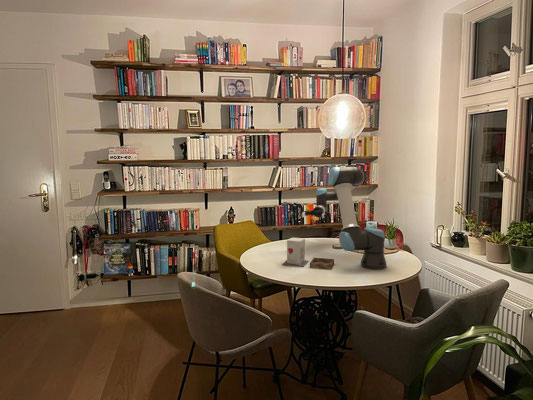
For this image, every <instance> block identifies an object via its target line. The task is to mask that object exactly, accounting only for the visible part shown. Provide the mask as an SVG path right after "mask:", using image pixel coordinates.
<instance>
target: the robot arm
mask: <svg viewBox="0 0 533 400" xmlns="http://www.w3.org/2000/svg"><path fill="white" fill-rule="evenodd" d="M364 181H365V173H364V171H363V170H362V168H360V167H356V166H336V167H335V166H334V167H332V168H331V169H330V170H329V174H328V185H330V186H331V187H333V190H327V188H325V187H321V188H320V187H319V188H317V189H316V194H315V196H316V198H315V199H316V203H315V206H314V207H313V209H312V210H310V209H308V210H303V211H300V214H299V215H300V216H301V218H304V217H306V216H314V217H316V218H321V219H325V218H326V217H329V218H330V215H331V214H330V213H331V212H329V211H328V205H327V204H328V203H327V202H337V201H338V207H339V213H340V218H341V222H342V228H341V230H340V232H339V234H338V242H339V244H340V247H341V248H342V249H343V250H344V251H346V252H353V251H354V252H355V251H357V252H358V251H363V254H362V257H361V260H360V266H361V267H362V268H365V269H369V270H383V269H386V268H387V265H388V264H387V260H386V257H385V232H384V230H383V229H380V228H376V227H375V228H374V227H364V229H363V230H362V228H361V226H360V225H359V224H358V221H357V216H356V211H355V206H354V201H353V195H352V190H354V189H355V188H357V187H360V186H361V185H362V184H363V182H364Z"/></svg>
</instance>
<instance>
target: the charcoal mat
mask: <svg viewBox="0 0 533 400" xmlns="http://www.w3.org/2000/svg"><path fill="white" fill-rule="evenodd" d="M308 263H310V261H309V260H308V259H307V260H306V259H305V261H304V262H303V263H302V264H300V265H297V264H290V263H287V259H285V261H284V262H283V263H282V264H281V266H288V267H295V268H299V267H300V268H305V267H306V265H307V264H308Z"/></svg>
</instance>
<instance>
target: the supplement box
mask: <svg viewBox="0 0 533 400" xmlns="http://www.w3.org/2000/svg"><path fill="white" fill-rule="evenodd" d="M305 245H306V238H302V237H301V238H300V237H293V236H292V237H291V238H288V239H287V240H286V260H287V263H290V264H297V265H300V264H302V263H303V262H304V261H305V260H306V259H305V258H306V255H305V254H306V251H305V250H306V248H305Z"/></svg>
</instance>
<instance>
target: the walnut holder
mask: <svg viewBox="0 0 533 400" xmlns="http://www.w3.org/2000/svg"><path fill="white" fill-rule="evenodd" d="M334 266H335V258H327V257H326V258H325V257H316V256H315V257H312V259H311V260H310V261H309V268H311V269H321V270H332V268H333V267H334Z"/></svg>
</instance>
